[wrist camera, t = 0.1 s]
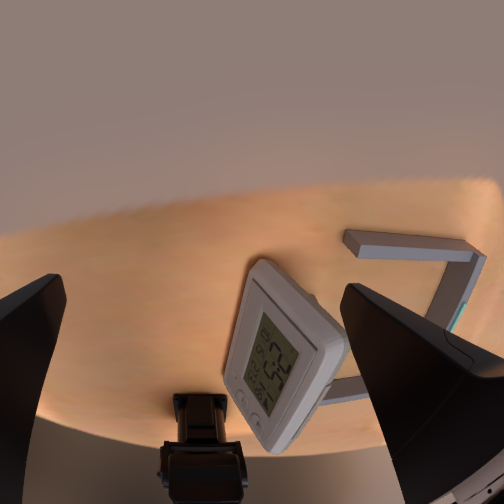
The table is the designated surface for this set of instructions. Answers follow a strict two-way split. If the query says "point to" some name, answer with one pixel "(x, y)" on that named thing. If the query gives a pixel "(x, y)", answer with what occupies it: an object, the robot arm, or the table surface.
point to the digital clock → (281, 356)
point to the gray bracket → (446, 298)
